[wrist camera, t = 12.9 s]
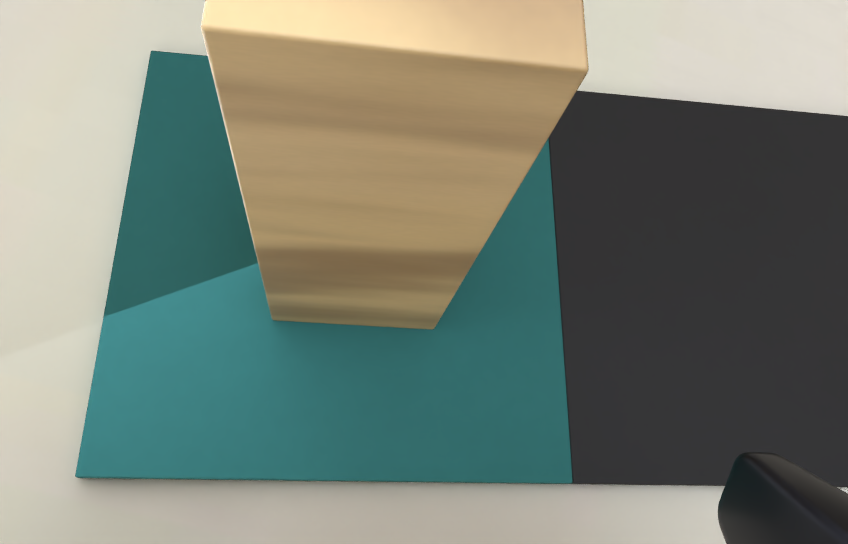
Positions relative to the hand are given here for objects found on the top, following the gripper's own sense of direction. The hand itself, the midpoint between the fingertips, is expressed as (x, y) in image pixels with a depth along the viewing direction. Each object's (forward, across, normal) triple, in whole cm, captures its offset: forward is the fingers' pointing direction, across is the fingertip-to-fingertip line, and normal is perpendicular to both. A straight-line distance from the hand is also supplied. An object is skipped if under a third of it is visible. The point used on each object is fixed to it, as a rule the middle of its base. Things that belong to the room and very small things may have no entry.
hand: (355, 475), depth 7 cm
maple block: (+14, 0, +3) cm, 14 cm away
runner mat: (+14, -8, +4) cm, 17 cm away
